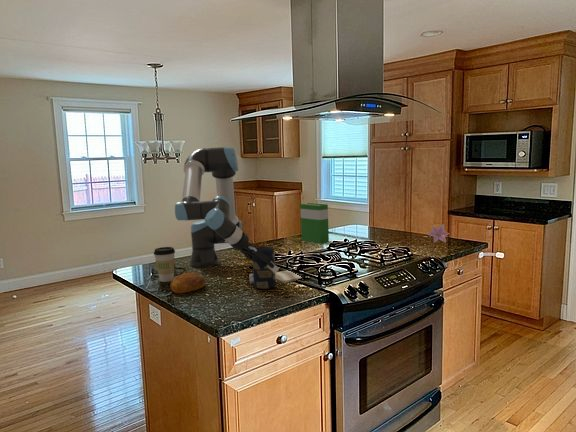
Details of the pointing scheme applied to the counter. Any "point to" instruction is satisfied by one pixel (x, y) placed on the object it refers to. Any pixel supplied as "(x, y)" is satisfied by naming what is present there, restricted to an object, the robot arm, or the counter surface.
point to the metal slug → (251, 278)
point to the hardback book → (314, 223)
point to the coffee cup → (165, 263)
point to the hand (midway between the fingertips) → (270, 268)
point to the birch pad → (286, 276)
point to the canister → (263, 270)
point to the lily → (438, 233)
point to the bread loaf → (187, 283)
